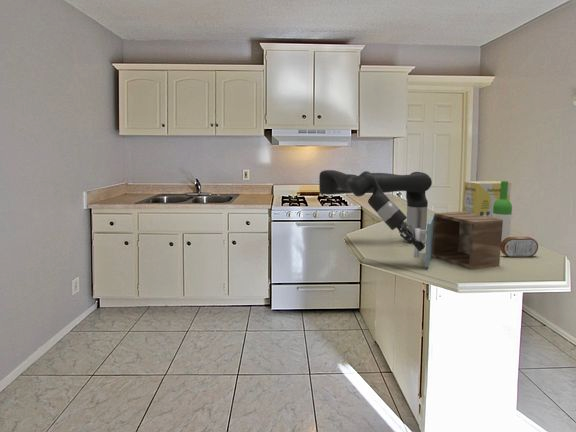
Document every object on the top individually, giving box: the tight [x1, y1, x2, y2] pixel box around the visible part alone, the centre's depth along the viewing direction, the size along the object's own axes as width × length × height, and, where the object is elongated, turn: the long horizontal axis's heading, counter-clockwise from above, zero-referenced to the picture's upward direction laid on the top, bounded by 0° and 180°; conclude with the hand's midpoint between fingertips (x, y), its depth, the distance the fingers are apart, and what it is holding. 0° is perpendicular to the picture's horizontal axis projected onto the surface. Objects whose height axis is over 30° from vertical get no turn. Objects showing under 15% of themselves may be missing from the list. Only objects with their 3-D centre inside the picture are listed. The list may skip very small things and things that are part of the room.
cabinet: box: [431, 211, 503, 270], centre depth 181 cm, size 22×14×18 cm, turn 23°
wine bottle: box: [492, 180, 513, 243], centre depth 205 cm, size 8×8×30 cm
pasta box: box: [461, 180, 512, 218], centre depth 222 cm, size 18×10×28 cm, turn 103°
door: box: [413, 214, 434, 268], centre depth 179 cm, size 21×6×16 cm, turn 159°
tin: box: [500, 236, 539, 258], centre depth 189 cm, size 15×3×8 cm, turn 92°
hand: (422, 248), depth 172 cm, fingers closed on door, 2 cm apart
